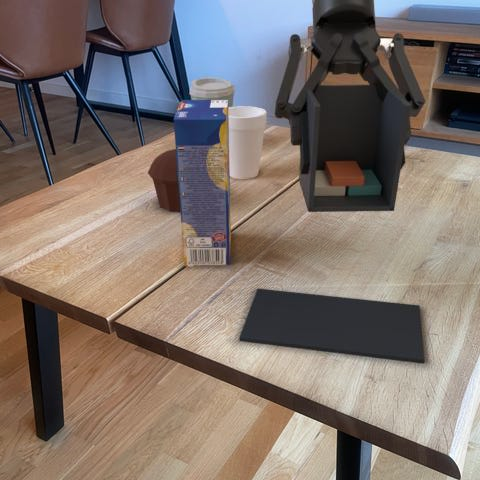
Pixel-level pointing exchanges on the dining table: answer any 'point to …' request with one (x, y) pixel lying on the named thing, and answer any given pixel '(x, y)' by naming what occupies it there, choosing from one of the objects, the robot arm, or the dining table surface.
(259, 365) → the dining table surface
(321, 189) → the block
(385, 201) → the basket
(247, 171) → the foam cup
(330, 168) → the block
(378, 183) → the block
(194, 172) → the beverage box
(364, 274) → the dining table surface
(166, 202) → the muffin
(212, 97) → the disposable coffee cup
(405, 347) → the mat
